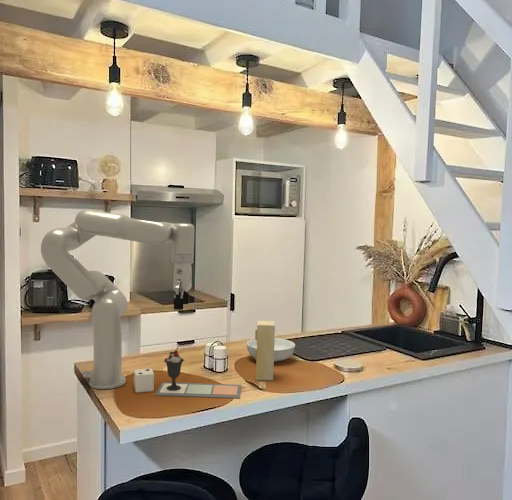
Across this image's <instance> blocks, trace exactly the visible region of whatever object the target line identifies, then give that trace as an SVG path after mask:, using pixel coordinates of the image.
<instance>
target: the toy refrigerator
mask: <svg viewBox="0 0 512 500" xmlns="http://www.w3.org/2000/svg"><path fill="white" fill-rule="evenodd" d="M254 330H255V337H254V339H255V340H257V350H255V358H254V359H255V361H256V365H255V367H256V368H255V370H256V371H255V380H256V381H274V374H275V373H274V369H275V364H274V363H275V362H274V339H275V338H276V336H275V334H276V333H275V330H276V324H275V320H257V324H256V329H254Z"/></svg>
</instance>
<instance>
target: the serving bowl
mask: <svg viewBox="0 0 512 500" xmlns="http://www.w3.org/2000/svg"><path fill="white" fill-rule="evenodd" d="M295 347H296V344H295V342H293V341H291V340H288V339H284V338H278V337H275V339H274V363H275V362H280V361H285V360H287V359H289V358H290V357H291V356H292V355H293V354H294V352H295V349H296V348H295ZM246 348H247V349H246V350H247V351H248V353H249V354H250V356H251V357H252V358H254V359H255V350H257V340H255V338H252V339H249V340H247V342H246Z"/></svg>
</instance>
